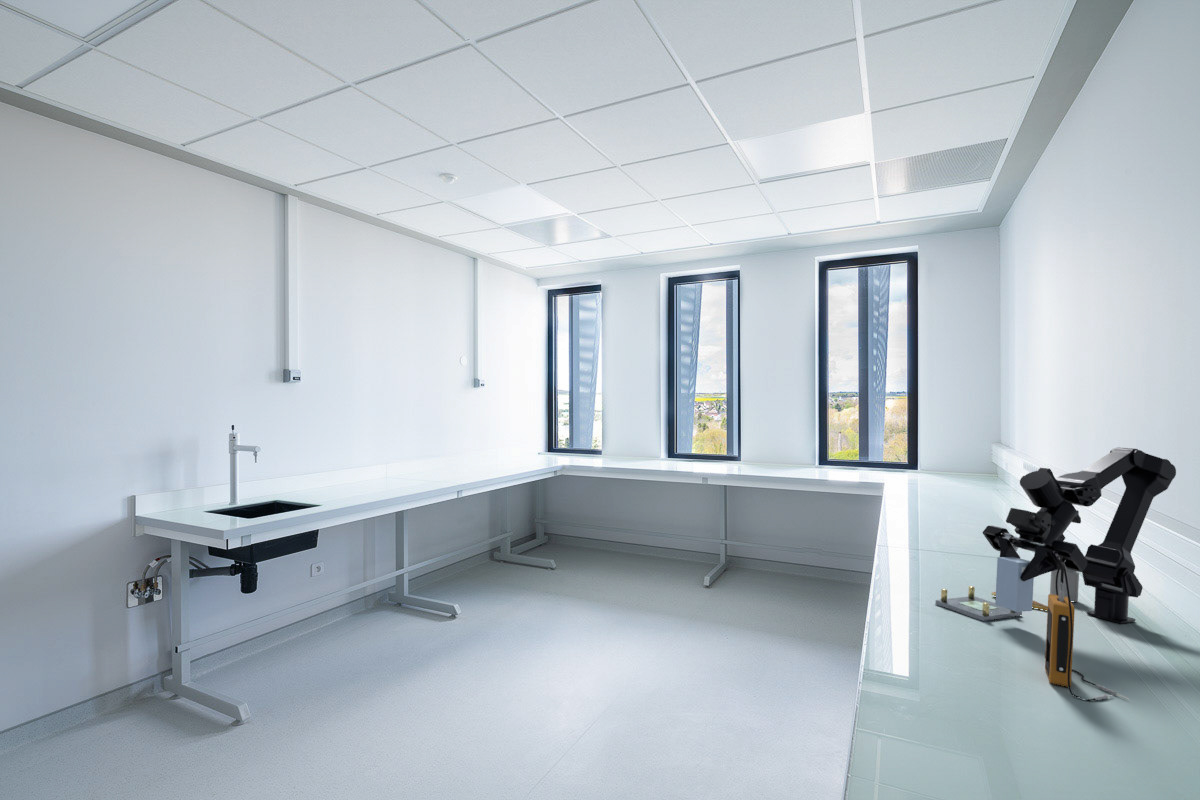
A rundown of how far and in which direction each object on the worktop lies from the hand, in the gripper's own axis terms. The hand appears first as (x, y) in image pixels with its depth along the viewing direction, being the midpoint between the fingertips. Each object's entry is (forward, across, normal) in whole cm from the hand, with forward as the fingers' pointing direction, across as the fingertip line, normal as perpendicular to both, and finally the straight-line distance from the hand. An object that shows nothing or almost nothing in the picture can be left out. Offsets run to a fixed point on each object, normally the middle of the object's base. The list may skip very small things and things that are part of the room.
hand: (1010, 576), depth 122 cm
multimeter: (+18, +24, -3) cm, 30 cm away
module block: (+4, 0, +6) cm, 7 cm away
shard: (-6, -12, +22) cm, 26 cm away
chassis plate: (+5, -9, +10) cm, 14 cm away
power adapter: (-17, -12, +33) cm, 39 cm away
